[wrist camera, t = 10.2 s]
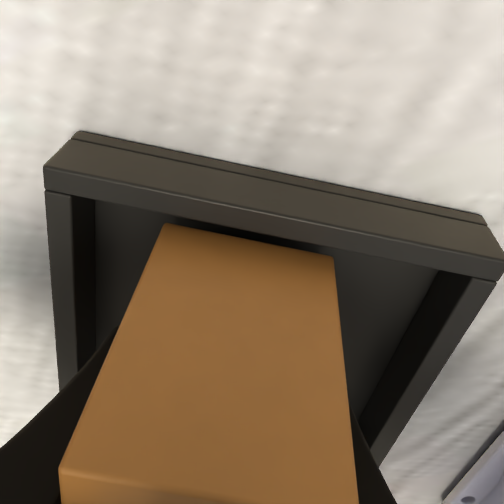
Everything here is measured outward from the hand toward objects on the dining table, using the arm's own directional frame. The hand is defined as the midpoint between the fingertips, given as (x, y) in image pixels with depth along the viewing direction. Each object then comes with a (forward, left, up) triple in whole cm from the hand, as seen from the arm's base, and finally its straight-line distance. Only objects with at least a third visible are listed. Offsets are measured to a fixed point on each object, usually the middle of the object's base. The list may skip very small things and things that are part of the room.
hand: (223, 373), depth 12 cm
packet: (0, 0, -1) cm, 1 cm away
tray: (-1, -1, -3) cm, 3 cm away
